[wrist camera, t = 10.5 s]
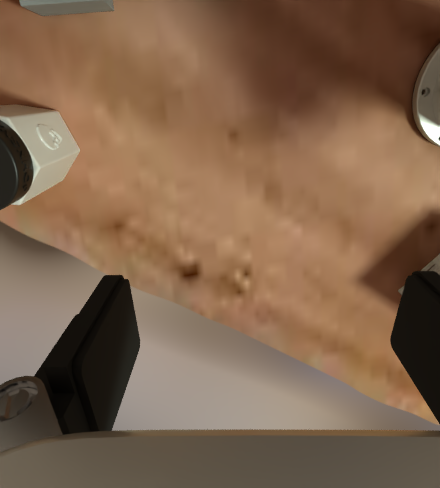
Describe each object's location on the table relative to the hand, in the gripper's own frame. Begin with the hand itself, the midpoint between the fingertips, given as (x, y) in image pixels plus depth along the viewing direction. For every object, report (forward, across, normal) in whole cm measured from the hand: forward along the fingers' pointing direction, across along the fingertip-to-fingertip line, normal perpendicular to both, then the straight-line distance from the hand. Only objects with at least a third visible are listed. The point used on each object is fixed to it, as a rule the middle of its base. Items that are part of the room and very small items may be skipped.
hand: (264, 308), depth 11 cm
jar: (+29, +23, -2) cm, 36 cm away
